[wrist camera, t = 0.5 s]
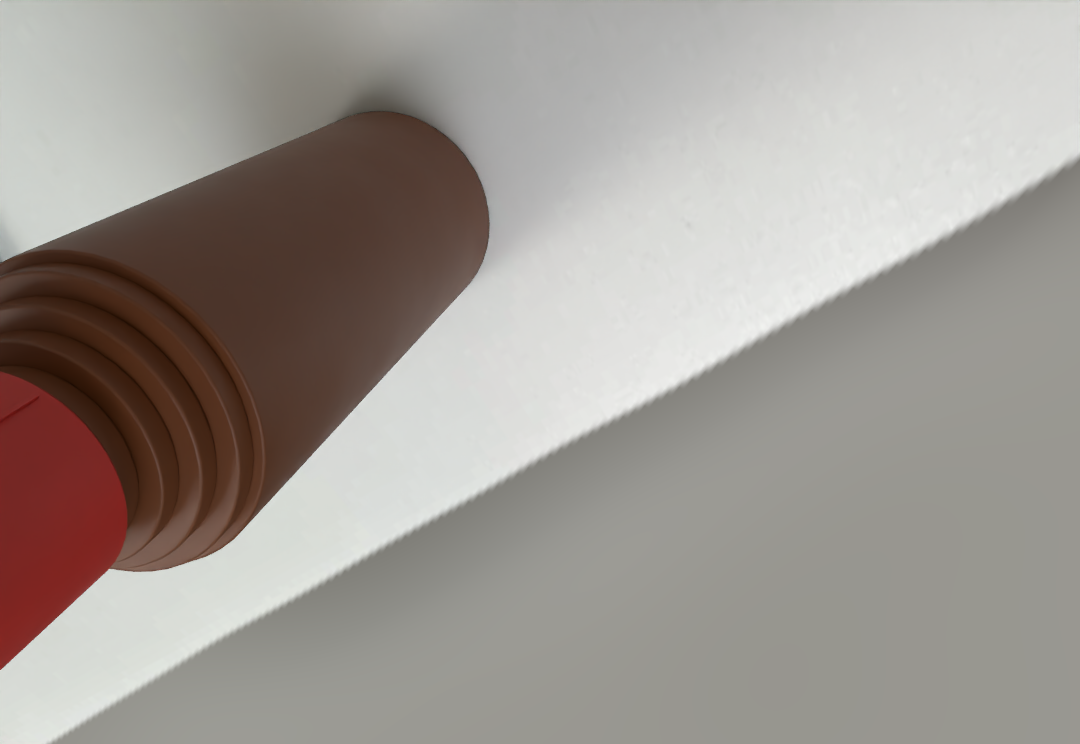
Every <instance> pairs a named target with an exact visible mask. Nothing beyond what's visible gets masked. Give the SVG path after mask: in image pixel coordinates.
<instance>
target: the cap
mask: <svg viewBox="0 0 1080 744" xmlns="http://www.w3.org/2000/svg"><path fill="white" fill-rule="evenodd" d="M126 531H127V506H126V499H125V495H124V491H123V488H122V484H121V481H120V479H119V476H118V474H117V471H116V469H115V467H114V465H113V463H112V461H111V459H110V458H109V456H108V454H107V452H106V451H105V449H104V448H103V446H102V445H101V443H100V442H99V440H98V439H97V438H96V437H95V435H94V434H93V433H92V432H91V430H90V429H89V428H88V427H87V426H86V424H85V423H84V422H83V421H82V420H81V419H80V418H79V417H78V416H77V415H76V414H75V413H74V412H73V411H71V410H70V409H69V408H68V407H67V406H65V405H64V404H63V403H62V402H61V401H59V400H58V399H56V398H55V397H54V396H52V395H51V394H49V393H48V392H46V391H45V390H43V389H41V388H39V387H38V386H36V385H34V384H32V383H30V382H28V381H26V380H24V379H21V378H19V377H17V376H14V375H11V374H7V373H4V372H1V371H0V670H1V669H2V668H3V667H4V666H5V665H6V664H8V663H9V662H10V661H11V660H12V659H13V658H14V657H15V656H16V655H17V654H18V653H19V652H20V651H21V650H23V649H24V648H25V647H26V646H27V645H28V644H29V643H30V642H31V641H32V640H33V639H34V638H35V637H36V636H38V635H39V634H40V633H41V632H42V631H43V630H44V629H45V628H46V627H47V626H48V625H49V624H50V623H52V622H53V621H54V620H55V619H56V618H57V617H58V616H59V615H60V614H61V613H62V612H63V611H64V610H65V609H67V608H68V607H69V606H70V605H71V604H72V603H73V602H74V601H75V600H76V599H77V598H78V597H79V596H81V595H82V594H83V593H84V592H85V591H86V590H87V589H88V588H89V587H90V586H91V585H92V584H93V583H94V582H96V581H97V580H98V579H99V578H100V577H101V576H102V575H103V574H104V573H105V572H106V571H107V570H108V569H109V568H110V567H111V566H112V565H113V563H114V562H115V561H116V559H117V557H118V556H119V554H120V552H121V550H122V547H123V544H124V541H125V538H126Z"/></svg>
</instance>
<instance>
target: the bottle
mask: <svg viewBox="0 0 1080 744" xmlns="http://www.w3.org/2000/svg"><path fill="white" fill-rule="evenodd" d="M488 238H489V214H488V207H487V202H486V197H485V194H484V191H483V188H482V186H481V183H480V181H479V179H478V177H477V175H476V173H475V170H474V169H473V167H472V166H471V164H470V163H469V161H468V160H467V158H466V157H465V156H464V154H463V153H462V152H461V151H460V150H459V148H458V147H457V146H456V145H455V144H454V143H453V142H452V141H450V140H449V139H448V138H447V137H446V136H445V135H443V134H442V133H441V132H439V131H438V130H437V129H435V128H434V127H432V126H430V125H428V124H426V123H425V122H423V121H420V120H418V119H416V118H413V117H411V116H407V115H403V114H399V113H394V112H385V111H374V112H365V113H359V114H356V115H353V116H350V117H347V118H344V119H342V120H339V121H337V122H335V123H332V124H330V125H327V126H325V127H323V128H320V129H318V130H315V131H313V132H311V133H308V134H306V135H303V136H301V137H299V138H296V139H294V140H291V141H289V142H287V143H284V144H282V145H280V146H277V147H275V148H272V149H270V150H268V151H265V152H263V153H260V154H258V155H256V156H253V157H251V158H248V159H246V160H244V161H241V162H239V163H236V164H234V165H232V166H229V167H227V168H225V169H222V170H220V171H217V172H215V173H213V174H210V175H208V176H205V177H203V178H201V179H198V180H196V181H193V182H191V183H189V184H186V185H184V186H181V187H179V188H177V189H174V190H172V191H170V192H167V193H165V194H162V195H160V196H158V197H155V198H153V199H150V200H148V201H146V202H143V203H141V204H138V205H136V206H134V207H131V208H129V209H126V210H124V211H122V212H119V213H117V214H115V215H112V216H110V217H107V218H105V219H103V220H100V221H98V222H95V223H93V224H91V225H88V226H86V227H83V228H81V229H79V230H76V231H74V232H71V233H69V234H67V235H64V236H62V237H60V238H57V239H55V240H52V241H50V242H48V243H45V244H43V245H40V246H38V247H36V248H33V249H31V250H28V251H26V252H24V253H21V254H19V255H16V256H14V257H12V258H10V259H8V260H6V261H4V262H2V263H0V371H1V372H4V373H7V374H11V375H14V376H17V377H19V378H21V379H24V380H26V381H28V382H30V383H32V384H34V385H36V386H38V387H39V388H41V389H43V390H45V391H46V392H48V393H49V394H51V395H52V396H54V397H55V398H56V399H58V400H59V401H61V402H62V403H63V404H64V405H65V406H67V407H68V408H69V409H70V410H71V411H73V412H74V413H75V414H76V415H77V416H78V417H79V418H80V419H81V420H82V421H83V422H84V423H85V424H86V426H87V427H88V428H89V429H90V430H91V432H92V433H93V434H94V435H95V437H96V438H97V439H98V440H99V442H100V443H101V445H102V446H103V448H104V449H105V451H106V452H107V454H108V456H109V458H110V459H111V461H112V463H113V465H114V467H115V469H116V471H117V474H118V476H119V479H120V481H121V484H122V488H123V491H124V495H125V499H126V506H127V531H126V538H125V541H124V544H123V547H122V550H121V552H120V554H119V556H118V557H117V559H116V561H115V562H114V563H113V565H112V566H111V567H110V568H109V569H116V570H124V571H133V572H142V571H157V570H163V569H169V568H172V567H175V566H178V565H181V564H184V563H187V562H190V561H193V560H197V559H200V558H203V557H206V556H208V555H210V554H212V553H214V552H216V551H218V550H220V549H221V548H223V547H224V546H225V545H227V544H228V543H229V542H231V541H232V540H233V539H235V537H236V536H237V535H238V534H239V533H240V532H241V531H242V530H243V529H244V528H245V527H246V526H247V525H248V523H249V522H250V521H251V520H252V519H253V518H254V517H255V516H256V515H257V514H258V513H259V512H260V510H261V509H262V508H263V507H264V506H265V505H266V504H267V503H268V502H269V501H270V500H271V498H272V497H273V496H274V495H275V494H276V493H277V492H278V491H279V490H280V489H281V488H282V487H283V485H284V484H285V483H286V482H287V481H288V480H289V479H290V478H291V477H292V476H293V475H294V474H295V472H296V471H297V470H298V469H299V468H300V467H301V466H302V465H303V464H304V463H305V462H306V461H307V459H308V458H309V457H310V456H311V455H312V454H313V453H314V452H315V451H316V450H317V449H318V447H319V446H320V445H321V444H322V443H323V442H324V441H325V440H326V439H327V438H328V437H329V436H330V434H331V433H332V432H333V431H334V430H335V429H336V428H337V427H338V426H339V425H340V424H341V423H342V421H343V420H344V419H345V418H346V417H347V416H348V415H349V414H350V413H351V412H352V411H353V409H354V408H355V407H356V406H357V405H358V404H359V403H360V402H361V401H362V400H363V399H364V398H365V396H366V395H367V394H368V393H369V392H370V391H371V390H372V389H373V388H374V387H375V386H376V385H377V383H378V382H379V381H380V380H381V379H382V378H383V377H384V376H385V375H386V374H387V373H388V371H389V370H390V369H391V368H392V367H393V366H394V365H395V364H396V363H397V362H398V361H399V360H400V358H401V357H402V356H403V355H404V354H405V353H406V352H407V351H408V350H409V349H410V348H411V347H412V345H413V344H414V343H415V342H416V341H417V340H418V339H419V338H420V337H421V336H422V335H423V334H424V332H425V331H426V330H427V329H428V328H429V327H430V326H431V325H432V324H433V323H434V322H435V320H436V319H437V318H438V317H439V316H440V315H441V314H442V313H443V312H444V311H445V310H446V309H447V307H448V306H449V305H450V304H451V303H452V302H453V301H454V300H455V299H456V298H457V297H458V296H459V294H460V293H461V292H462V291H463V290H464V289H465V288H466V287H467V286H468V285H469V284H470V282H471V281H472V279H473V278H474V277H475V275H476V274H477V272H478V270H479V268H480V266H481V264H482V262H483V259H484V256H485V253H486V249H487V244H488Z"/></svg>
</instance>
